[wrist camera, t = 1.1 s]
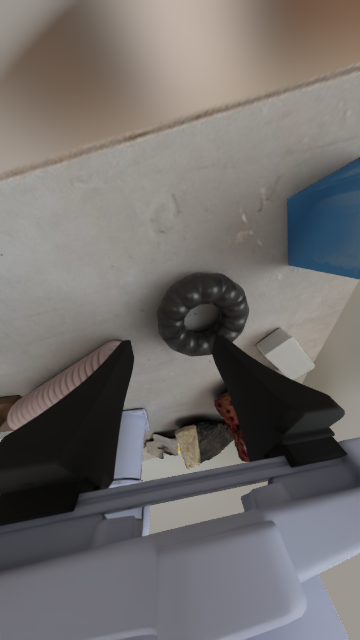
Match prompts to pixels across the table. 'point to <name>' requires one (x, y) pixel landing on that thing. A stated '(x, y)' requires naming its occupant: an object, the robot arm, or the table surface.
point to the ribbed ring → (191, 295)
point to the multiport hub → (285, 354)
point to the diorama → (162, 446)
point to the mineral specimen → (202, 441)
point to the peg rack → (6, 411)
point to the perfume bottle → (327, 224)
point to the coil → (57, 387)
